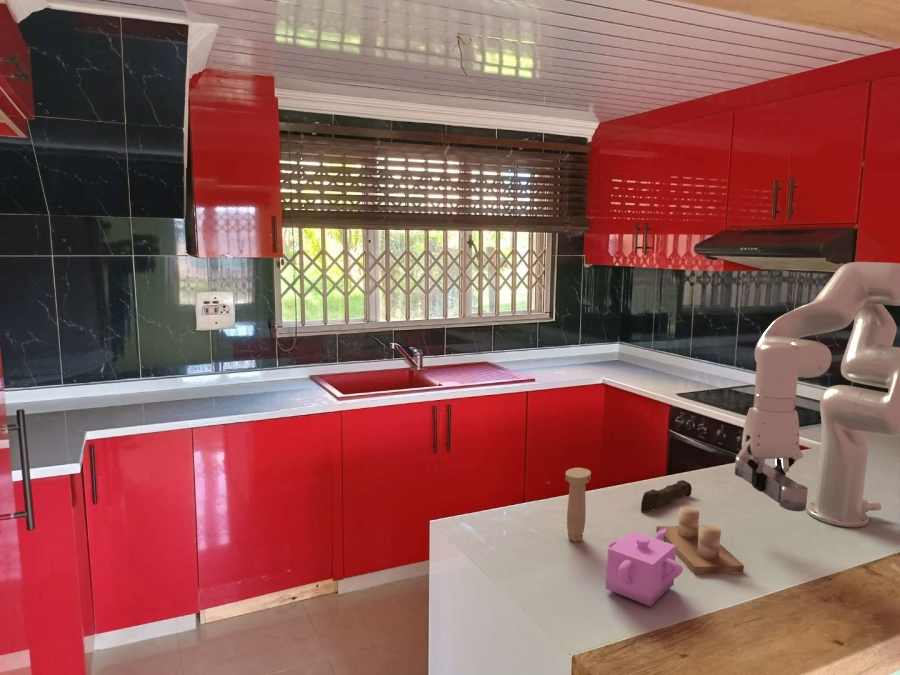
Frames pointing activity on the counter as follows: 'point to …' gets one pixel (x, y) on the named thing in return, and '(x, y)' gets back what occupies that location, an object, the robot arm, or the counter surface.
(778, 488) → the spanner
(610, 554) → the teapot
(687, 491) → the dark fuzzy dog bone
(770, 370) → the robot arm
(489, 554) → the counter surface
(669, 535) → the tool rest
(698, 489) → the counter surface
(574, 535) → the handle
